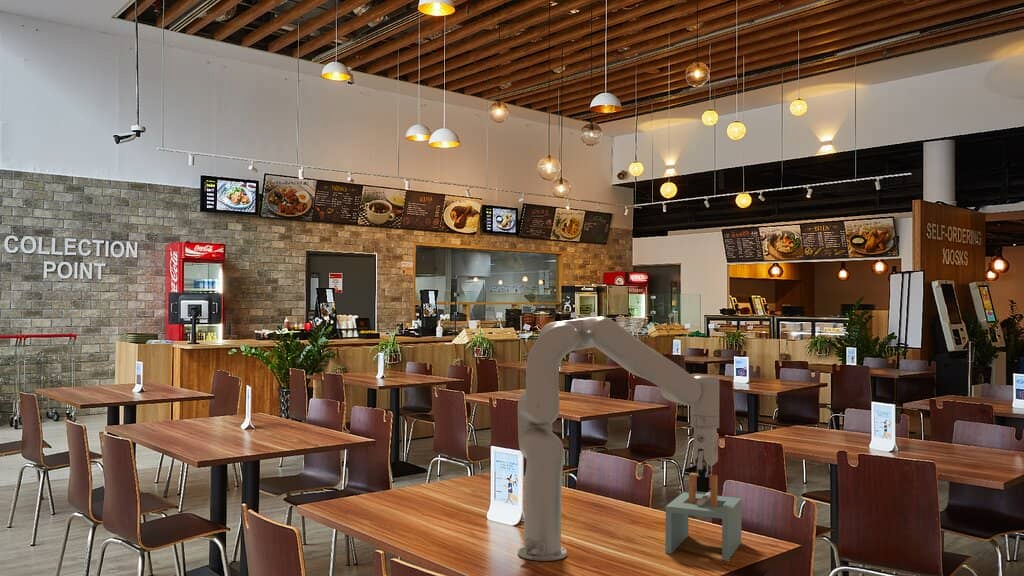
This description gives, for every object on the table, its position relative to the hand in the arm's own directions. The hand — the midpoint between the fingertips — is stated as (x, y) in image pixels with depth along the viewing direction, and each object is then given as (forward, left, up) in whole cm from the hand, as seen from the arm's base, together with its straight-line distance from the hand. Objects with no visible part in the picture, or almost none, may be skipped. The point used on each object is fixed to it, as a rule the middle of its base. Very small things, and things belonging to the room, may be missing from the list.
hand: (704, 489), depth 214 cm
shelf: (0, 0, -15) cm, 15 cm away
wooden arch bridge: (0, 0, -6) cm, 6 cm away
